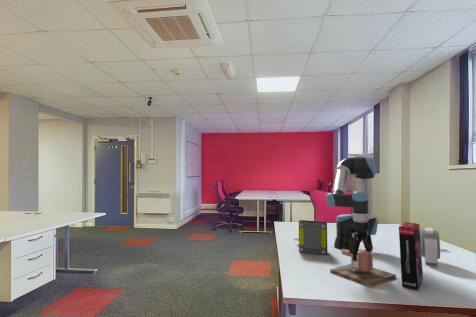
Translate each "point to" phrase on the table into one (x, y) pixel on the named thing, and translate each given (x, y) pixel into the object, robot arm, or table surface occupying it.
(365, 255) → the cap
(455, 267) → the table surface
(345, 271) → the base
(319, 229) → the electrical component
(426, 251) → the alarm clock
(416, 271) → the graphics card box
